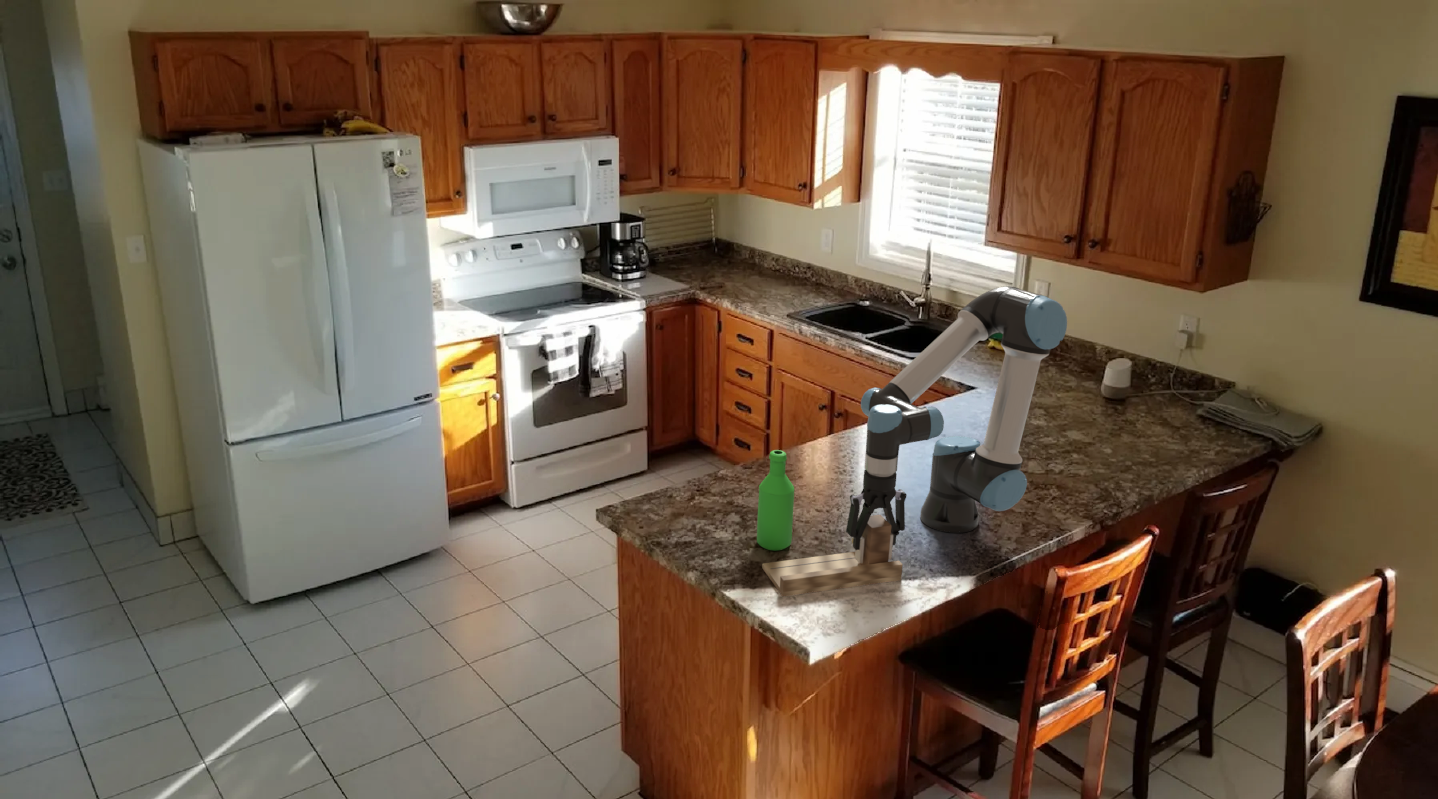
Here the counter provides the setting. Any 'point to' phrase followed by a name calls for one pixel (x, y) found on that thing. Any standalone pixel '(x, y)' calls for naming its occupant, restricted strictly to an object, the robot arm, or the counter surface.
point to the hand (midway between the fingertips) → (873, 558)
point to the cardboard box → (876, 540)
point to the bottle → (775, 506)
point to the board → (815, 568)
